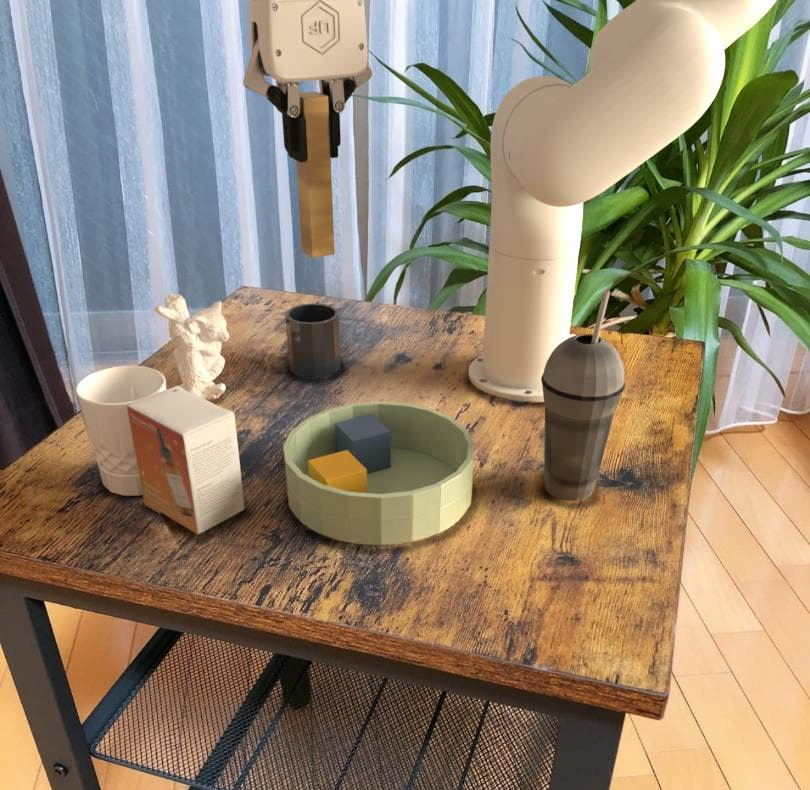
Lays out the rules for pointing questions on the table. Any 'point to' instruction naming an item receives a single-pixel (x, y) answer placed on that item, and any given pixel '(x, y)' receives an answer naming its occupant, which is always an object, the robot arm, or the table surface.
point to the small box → (187, 458)
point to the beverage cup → (579, 410)
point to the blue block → (365, 442)
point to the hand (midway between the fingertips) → (313, 155)
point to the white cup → (116, 421)
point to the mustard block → (339, 472)
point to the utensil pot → (313, 340)
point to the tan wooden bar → (316, 179)
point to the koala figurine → (197, 345)
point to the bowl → (385, 476)
